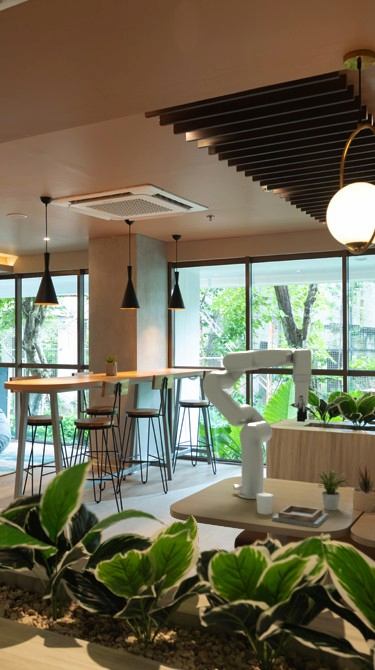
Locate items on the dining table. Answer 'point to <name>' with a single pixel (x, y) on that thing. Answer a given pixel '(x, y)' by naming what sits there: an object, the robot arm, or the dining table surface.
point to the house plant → (331, 490)
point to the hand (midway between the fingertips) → (302, 420)
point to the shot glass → (264, 503)
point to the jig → (301, 515)
